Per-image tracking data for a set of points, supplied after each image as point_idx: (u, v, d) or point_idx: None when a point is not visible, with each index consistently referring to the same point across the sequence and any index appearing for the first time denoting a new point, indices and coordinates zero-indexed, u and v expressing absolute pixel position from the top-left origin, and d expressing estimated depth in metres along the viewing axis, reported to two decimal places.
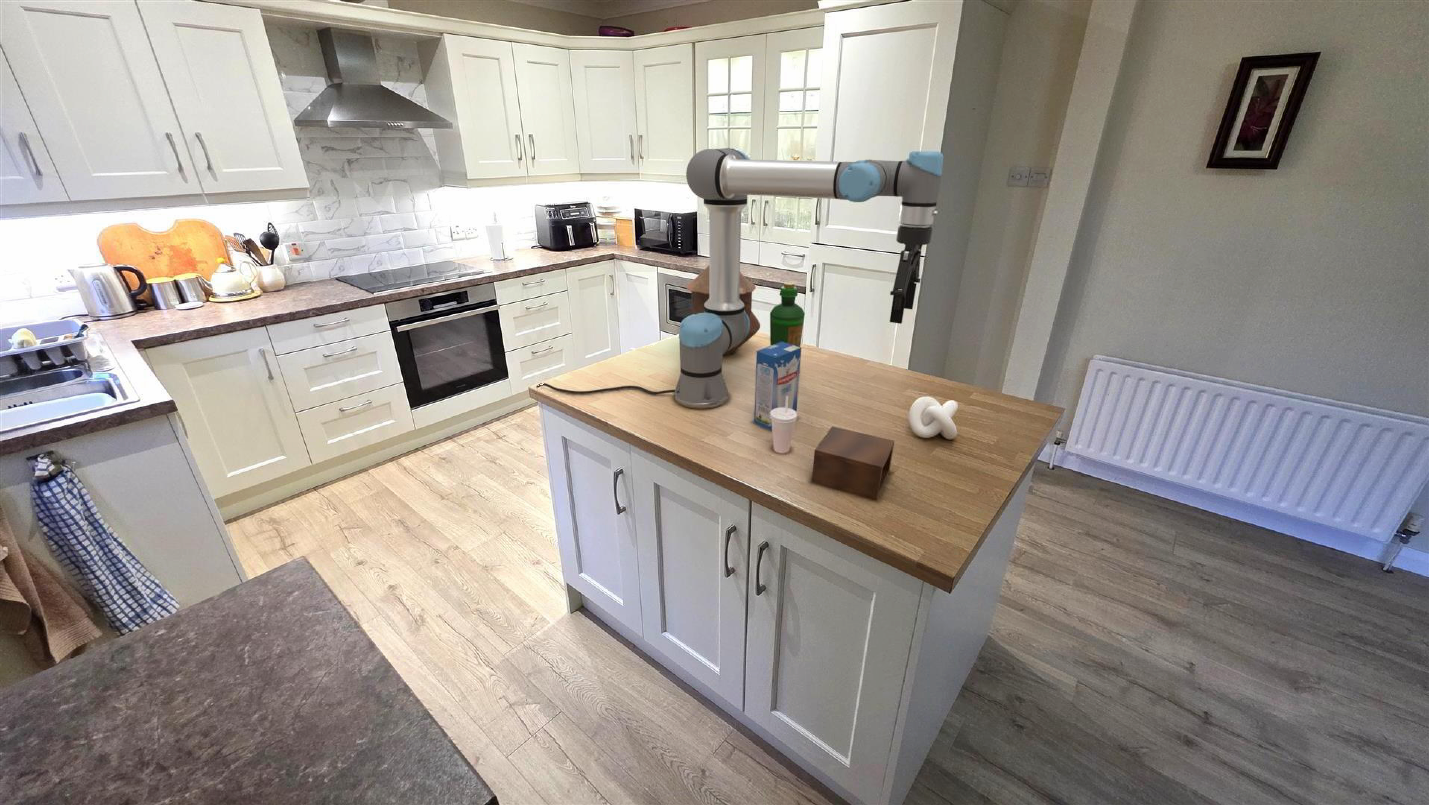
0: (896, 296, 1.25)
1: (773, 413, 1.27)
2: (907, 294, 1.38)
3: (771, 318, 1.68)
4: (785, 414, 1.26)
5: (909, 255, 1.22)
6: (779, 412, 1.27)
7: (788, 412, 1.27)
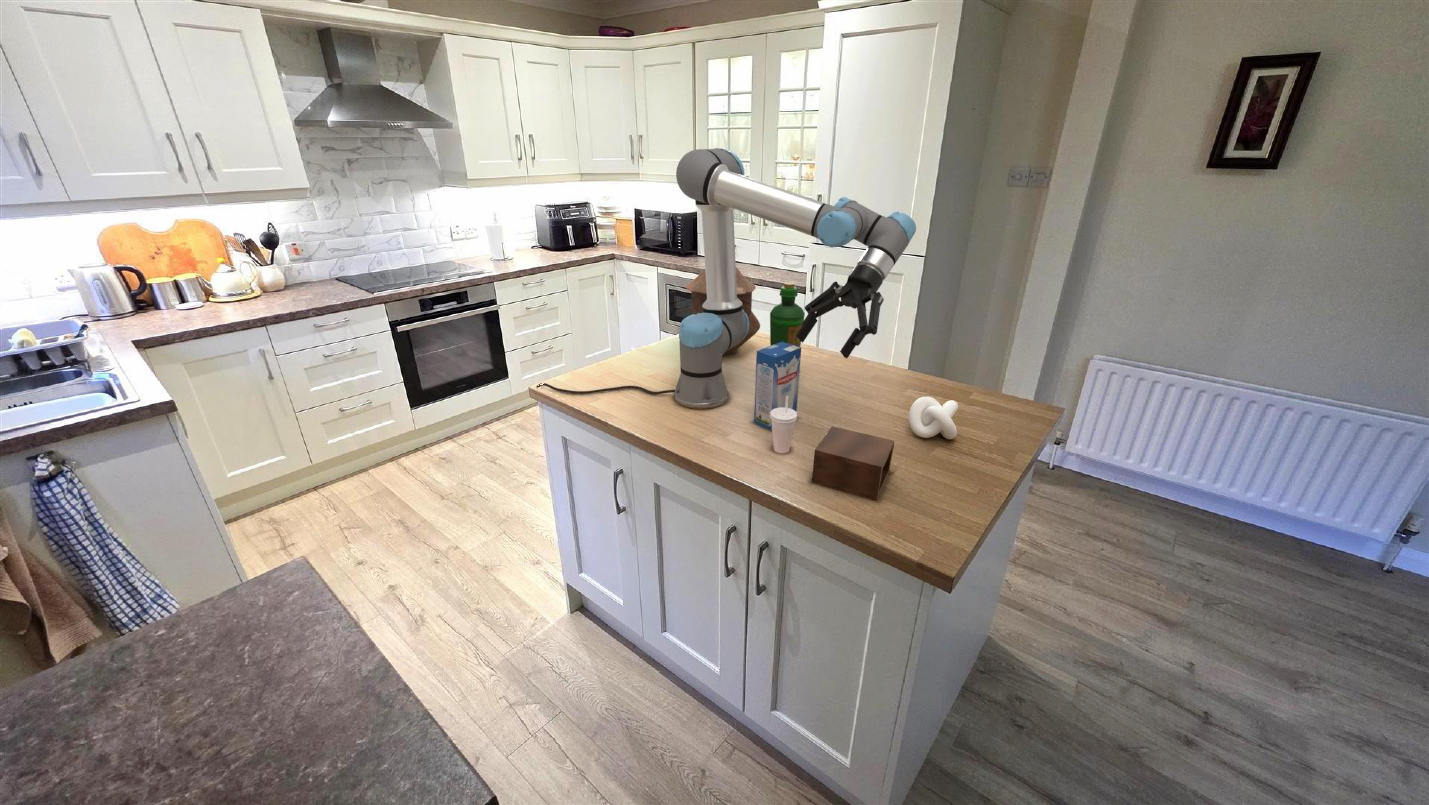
0: (864, 331, 1.21)
1: (773, 413, 1.27)
2: (808, 326, 1.32)
3: (771, 318, 1.68)
4: (785, 414, 1.26)
5: (882, 300, 1.24)
6: (779, 412, 1.27)
7: (788, 412, 1.27)
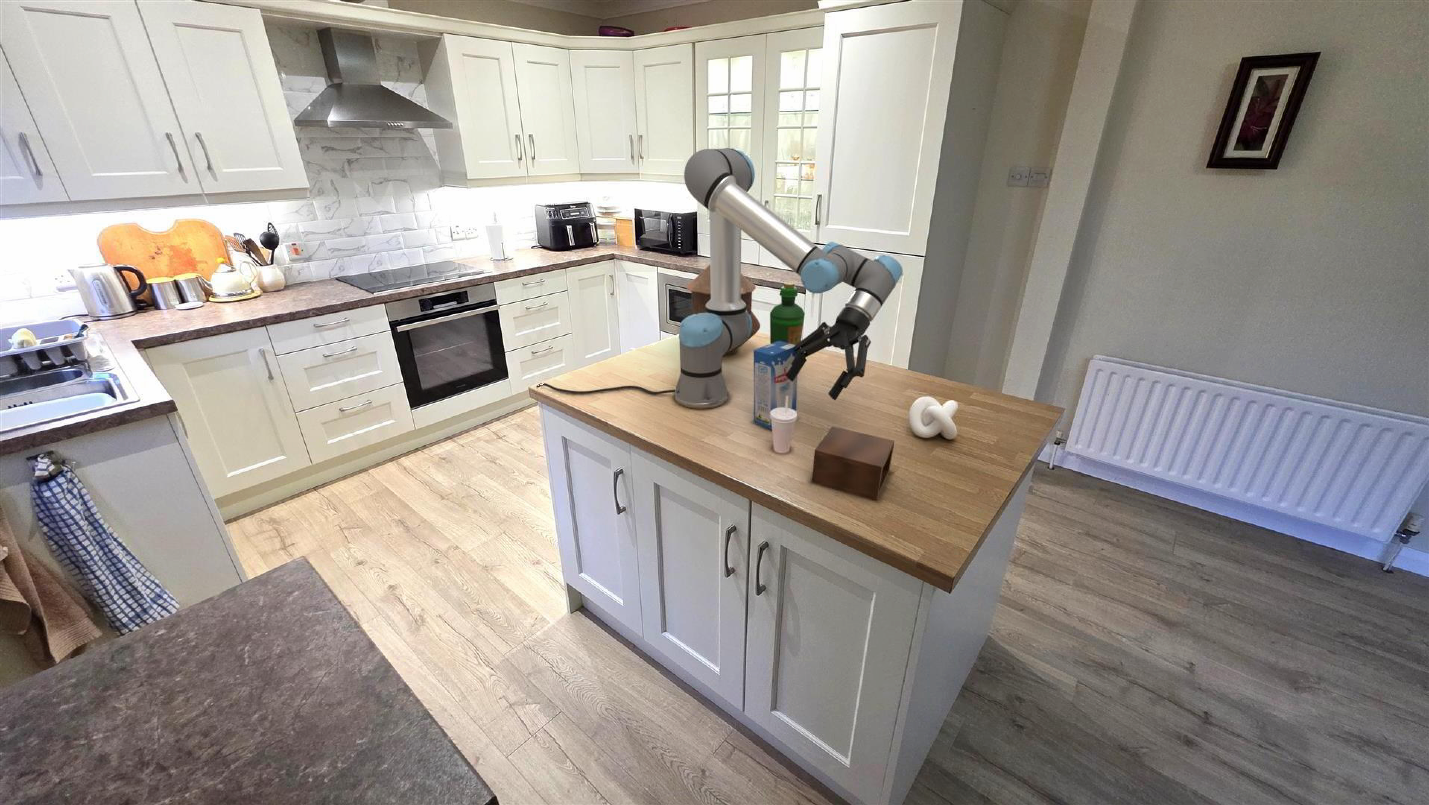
0: (852, 374, 1.24)
1: (773, 413, 1.27)
2: (797, 366, 1.34)
3: (771, 318, 1.68)
4: (785, 414, 1.26)
5: (869, 342, 1.27)
6: (779, 412, 1.27)
7: (788, 412, 1.27)
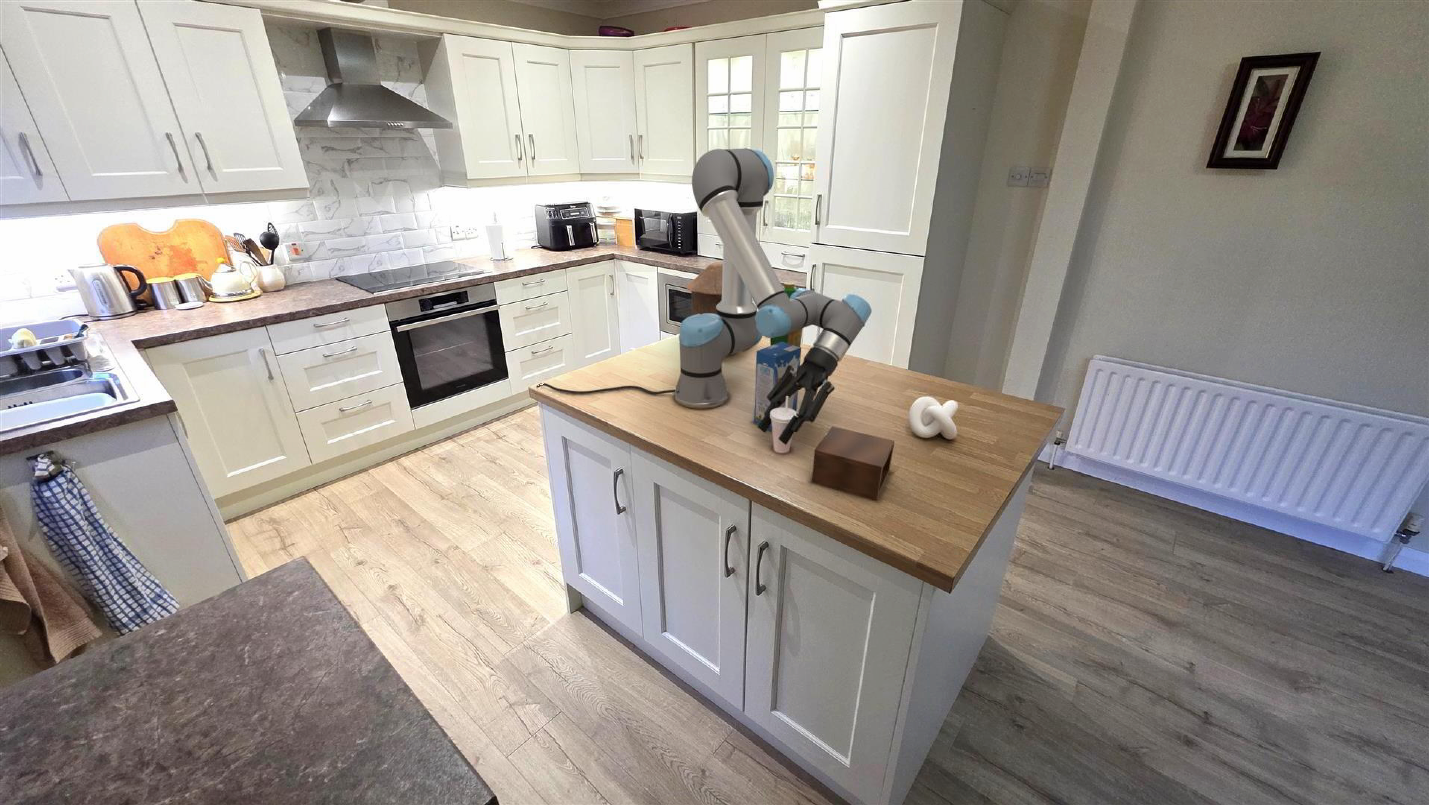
0: (802, 419, 1.24)
1: (773, 413, 1.27)
2: None
3: None
4: (785, 414, 1.26)
5: (832, 389, 1.24)
6: (779, 412, 1.27)
7: (788, 412, 1.27)
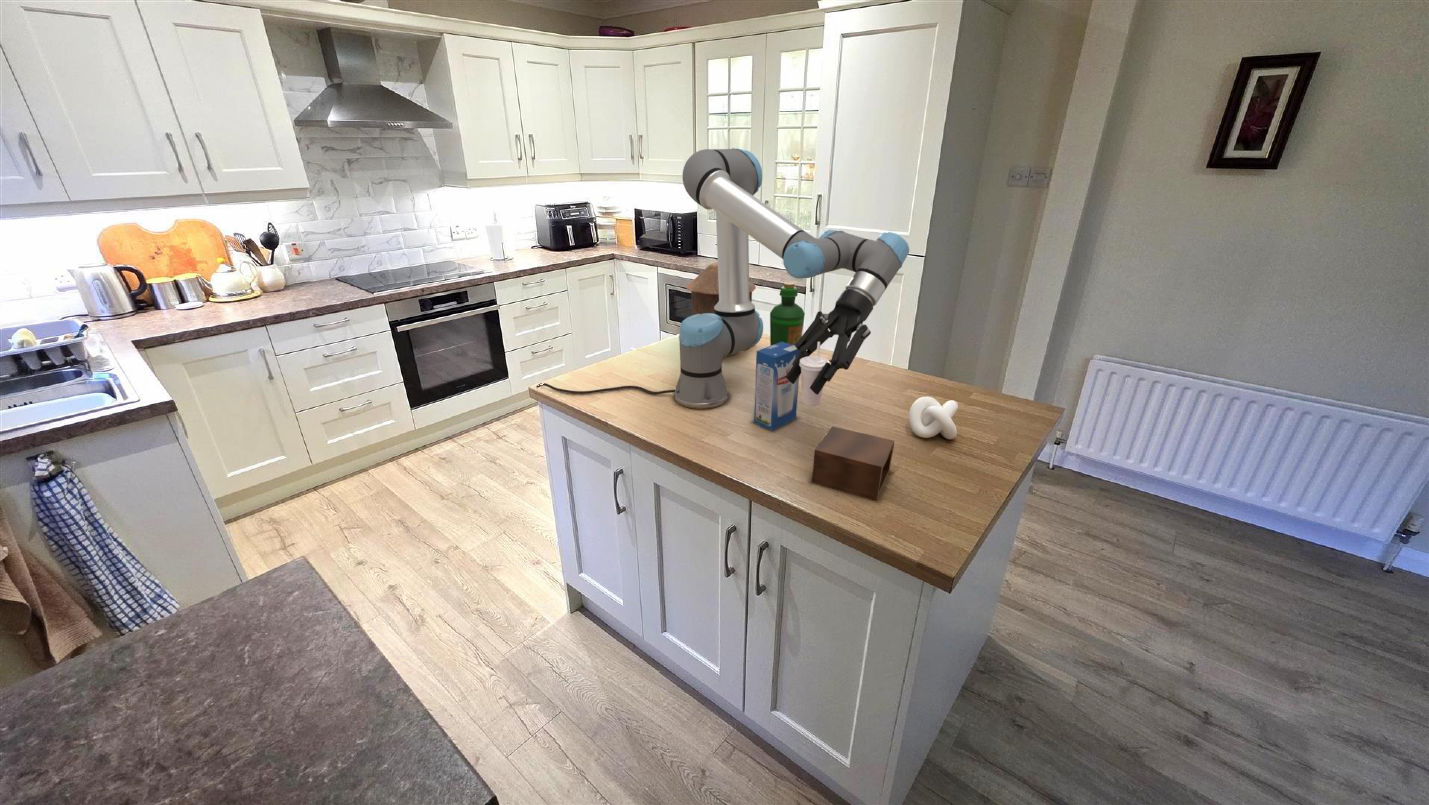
0: (836, 366, 1.13)
1: (803, 361, 1.17)
2: (799, 366, 1.19)
3: (771, 318, 1.68)
4: (816, 362, 1.16)
5: (868, 334, 1.14)
6: (810, 360, 1.17)
7: (819, 360, 1.17)
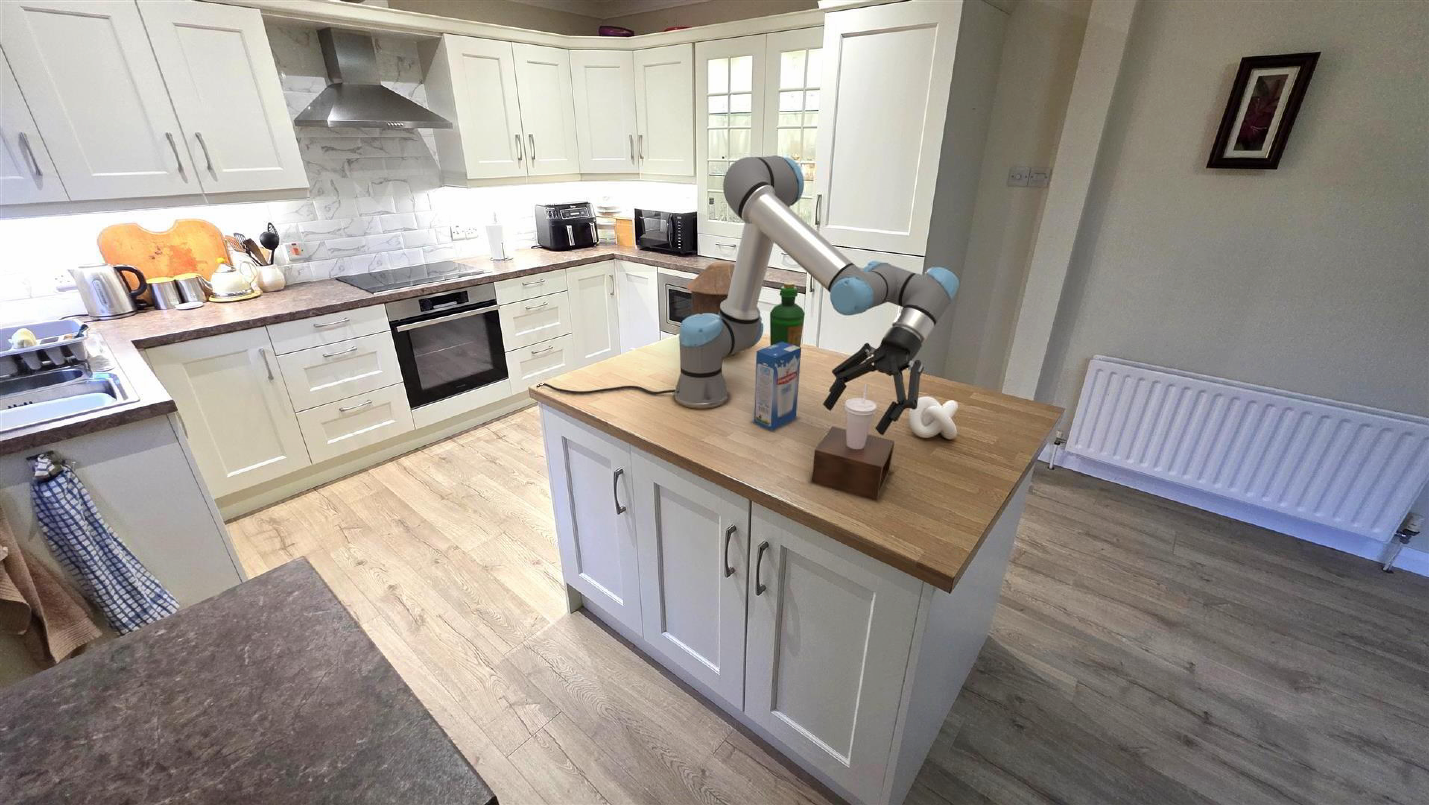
0: (903, 406, 1.07)
1: (849, 404, 1.13)
2: (836, 393, 1.17)
3: (771, 318, 1.68)
4: (863, 405, 1.12)
5: (922, 369, 1.10)
6: (855, 403, 1.13)
7: (866, 403, 1.13)
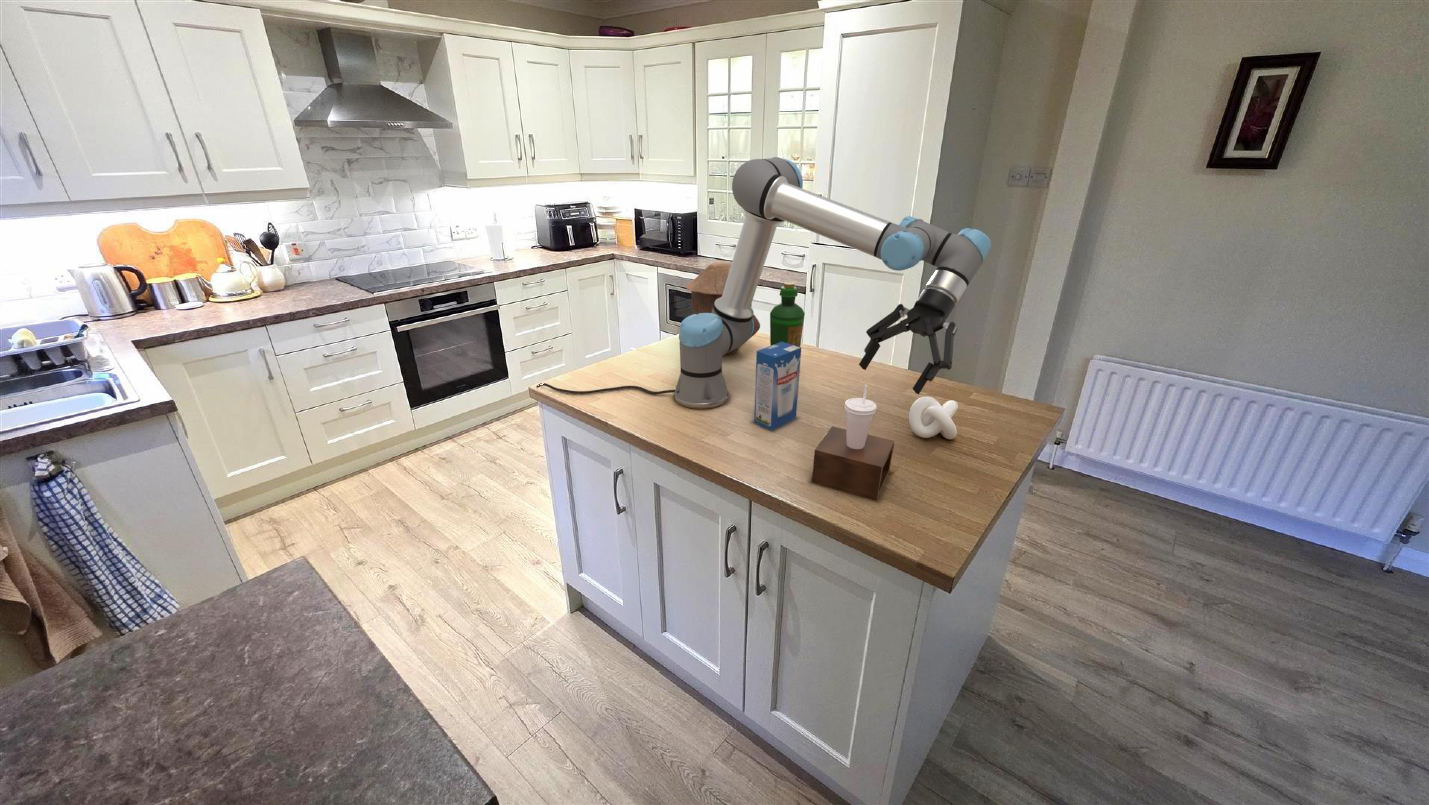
0: (939, 367, 1.14)
1: (849, 404, 1.13)
2: (871, 353, 1.23)
3: (771, 318, 1.68)
4: (863, 405, 1.12)
5: (956, 330, 1.16)
6: (855, 403, 1.13)
7: (866, 403, 1.13)
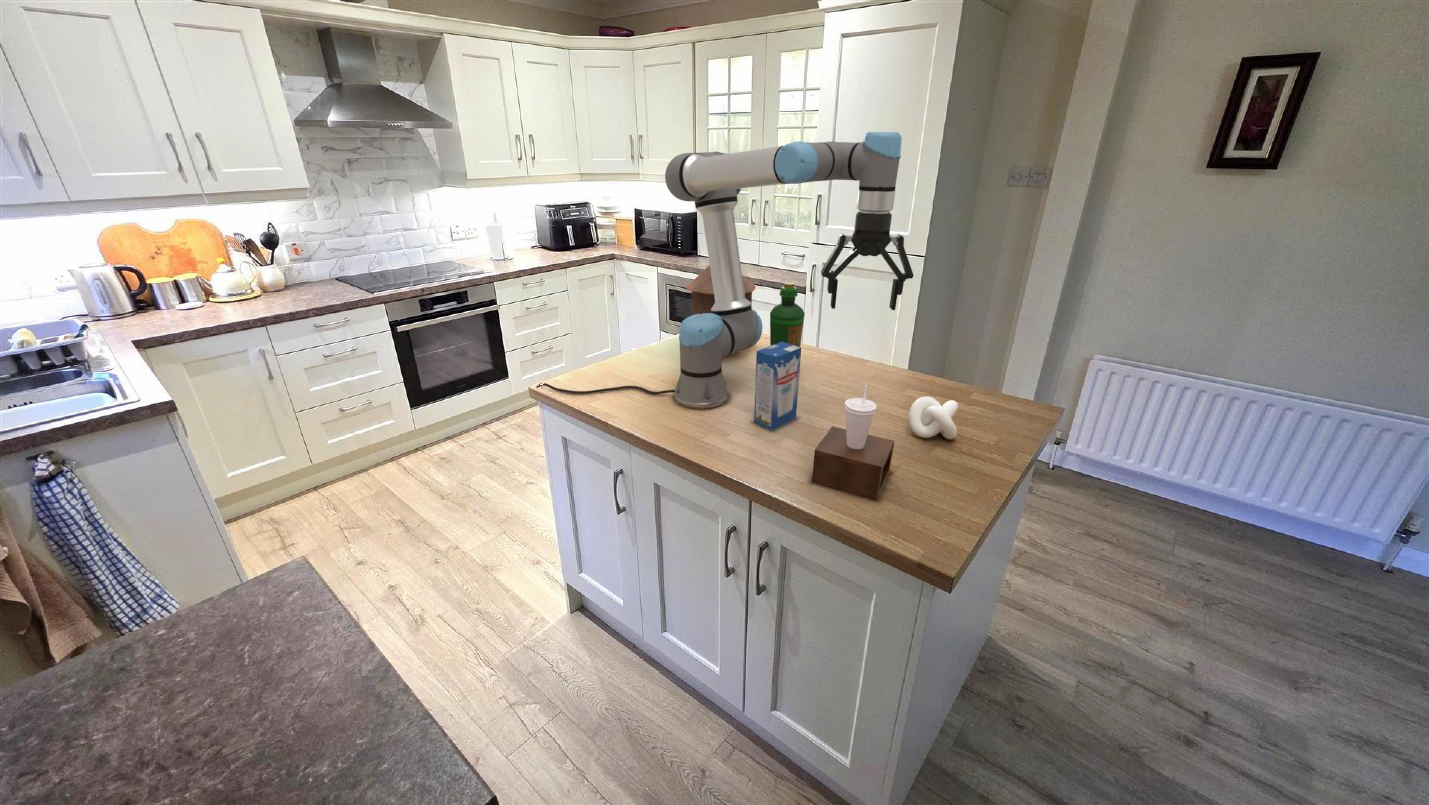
0: None
1: (849, 404, 1.13)
2: None
3: (771, 318, 1.68)
4: (863, 405, 1.12)
5: None
6: (855, 403, 1.13)
7: (866, 403, 1.13)
